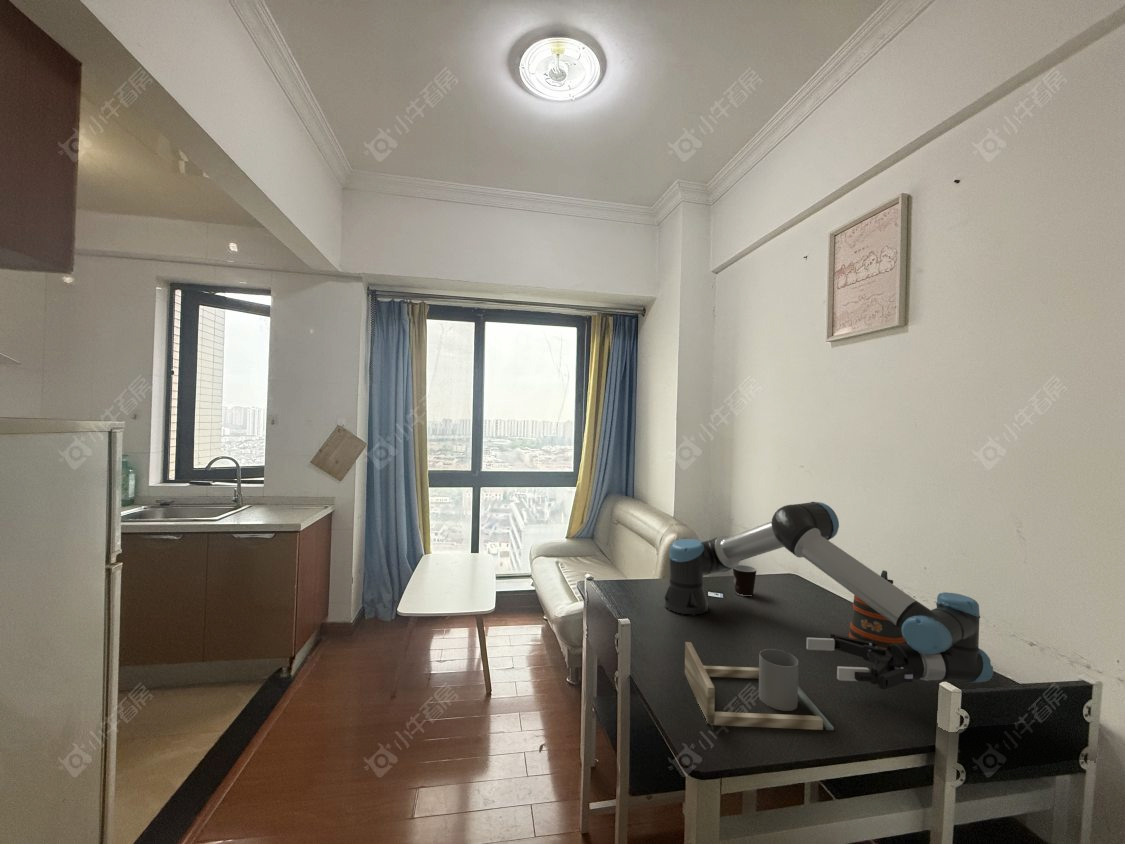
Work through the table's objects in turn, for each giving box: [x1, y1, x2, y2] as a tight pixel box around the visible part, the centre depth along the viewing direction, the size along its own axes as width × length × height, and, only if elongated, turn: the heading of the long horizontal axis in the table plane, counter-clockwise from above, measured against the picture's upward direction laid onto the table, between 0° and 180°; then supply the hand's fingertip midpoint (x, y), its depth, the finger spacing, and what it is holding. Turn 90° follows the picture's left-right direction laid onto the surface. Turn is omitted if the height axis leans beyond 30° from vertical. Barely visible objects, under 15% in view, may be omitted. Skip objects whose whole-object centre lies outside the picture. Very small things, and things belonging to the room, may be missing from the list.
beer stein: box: [848, 570, 908, 649], centre depth 140 cm, size 19×15×20 cm
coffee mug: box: [732, 564, 757, 596], centre depth 179 cm, size 12×9×10 cm
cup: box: [758, 648, 799, 712], centre depth 108 cm, size 8×8×10 cm
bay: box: [684, 641, 835, 731], centre depth 108 cm, size 27×21×8 cm
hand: (821, 657), depth 107 cm, fingers open, 13 cm apart
